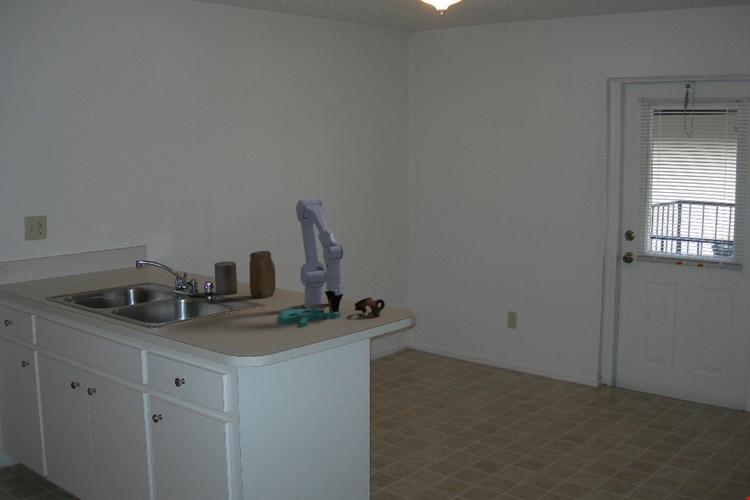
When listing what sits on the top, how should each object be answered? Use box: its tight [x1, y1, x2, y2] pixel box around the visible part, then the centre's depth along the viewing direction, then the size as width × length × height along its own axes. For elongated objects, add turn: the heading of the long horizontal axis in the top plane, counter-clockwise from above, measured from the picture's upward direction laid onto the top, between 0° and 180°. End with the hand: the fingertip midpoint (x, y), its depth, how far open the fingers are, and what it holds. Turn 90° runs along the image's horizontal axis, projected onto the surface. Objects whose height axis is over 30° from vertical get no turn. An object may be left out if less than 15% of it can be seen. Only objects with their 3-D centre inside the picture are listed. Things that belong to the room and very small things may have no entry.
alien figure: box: [278, 308, 342, 328], centre depth 298 cm, size 20×2×20 cm
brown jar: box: [249, 250, 277, 299], centre depth 341 cm, size 11×8×20 cm
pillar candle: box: [213, 260, 238, 296], centre depth 349 cm, size 10×10×15 cm
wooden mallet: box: [311, 299, 340, 313], centre depth 303 cm, size 4×10×6 cm, turn 106°
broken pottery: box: [354, 296, 386, 319], centre depth 303 cm, size 12×10×8 cm
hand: (334, 310), depth 305 cm, fingers closed on wooden mallet, 4 cm apart
